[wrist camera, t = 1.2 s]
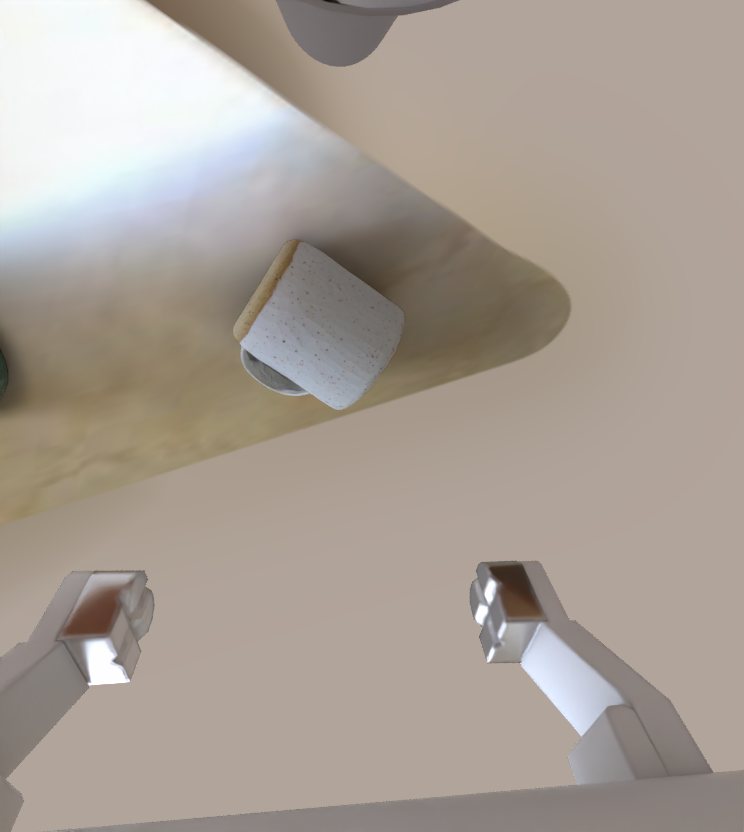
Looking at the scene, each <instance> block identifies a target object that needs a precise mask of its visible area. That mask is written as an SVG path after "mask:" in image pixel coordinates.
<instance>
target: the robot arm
mask: <svg viewBox="0 0 744 832" xmlns="http://www.w3.org/2000/svg"><path fill="white" fill-rule="evenodd" d="M476 573H477V575H478V578H477V579H476V580H474V581H473V582H472V584H471V588H470V605H471V610H472V614H473V617H474V620H475V621H476V622H477V623H478V624H479V625H480V626H481V627H482V630H481V633H480V636H479V638H480V641H481V644H482V647H483V650H484V654H485V657H486V660H487V663H521V664H520V665H521V666H522V667H523V668H524V670H525V671H526V672H527V673H528V674H529V675H530V677H531V678H532V679H533V680H534V681H535V682H536V684H538V686H539V687H540V688H541V690H542V691H543V692H544V693H545V694H546V695H547V697H548V698H549V699H550V700H551V701H552V702H553V704H554V705H555V706H556V707H557V708H558V709H559V711H560V712H561V713H562V714H563V715H564V716H565V718H566V719H567V720H568V721H569V722H570V723H571V725H572V726H573V727H574V728H575V729H576V730H577V732H578V733H579V734H580V735H581V736H582V737H581V738H580V739H579V741H578V742H577V743H576V744H575V745H574V747H573V748H572V749H571V750H570V752H569V754H568V757H567V758H568V761H569V764H570V767H571V769H572V772H573V775H574V777H575V780H576V783H577V785H568V786H557V787H546V788H535V789H523V790H511V791H500V792H489V793H477V794H467V795H455V796H444V797H432V798H421V799H410V800H398V801H386V802H375V803H365V804H353V805H341V806H330V807H318V808H307V809H296V810H284V811H273V812H261V813H250V814H240V815H228V816H217V817H205V818H193V819H182V820H171V821H160V822H148V823H136V824H125V825H114V826H103V827H91V828H79V829H68V830H57V831H46V832H744V770H740V771H728V772H716V773H713V771H712V769H711V768H710V766H709V764H708V763H707V761H706V759H705V758H704V756H703V754H702V753H701V751H700V750H699V748H698V746H697V744H696V743H695V741H694V739H693V738H692V736H691V734H690V733H689V731H688V729H687V728H686V726H685V724H684V723H683V721H682V719H681V718H680V716H679V714H678V713H677V711H676V709H675V708H674V706H673V704H672V703H671V701H670V700H669V699H668V698H667V697H666V696H664V695H663V694H662V693H661V692H660V691H658V690H657V689H656V688H655V687H654V686H653V685H651V684H650V683H649V682H648V681H647V680H645V679H644V678H643V677H642V676H641V675H639V674H638V673H637V672H636V671H635V670H634V669H632V668H631V667H630V666H629V665H628V664H626V663H625V662H624V661H623V660H622V659H620V658H619V657H618V656H617V655H616V654H614V653H613V652H612V651H611V650H610V649H608V648H607V647H606V646H605V645H604V644H603V643H601V642H600V641H599V640H598V639H597V638H596V637H594V636H593V635H592V634H591V633H590V632H588V631H587V630H586V629H585V628H584V627H582V626H581V625H580V624H578V622H576V621H570V620H569V618H568V616H567V614H566V612H565V610H564V608H563V606H562V604H561V602H560V600H559V598H558V597H557V594H556V592H555V590H554V588H553V586H552V584H551V582H550V580H549V578H548V576H547V574H546V572H545V570H544V568H543V566H542V564H540V563H539V562H538V561H498V562H481V563H480V564H478V567H477V569H476ZM147 580H148V579H147V576H146V574H145V571H72V572H71V573H70V574H69V575H68V576H67V577H66V578H65V579H64V580H63V582H62V584H61V585H60V587H59V589H58V590H57V592H56V594H55V595H54V597H53V599H52V601H51V602H50V604H49V606H48V607H47V609H46V611H45V612H44V614H43V616H42V618H41V619H40V621H39V623H38V624H37V626H36V628H35V630H34V631H33V633H32V635H31V636H30V638H29V640H28V641H27V642H23V643H19V644H17V645H16V646H15V647H13V648H12V649H11V650H10V651H8V652H7V653H6V654H4V655H3V656H2V657H0V832H11V830H12V827H13V825H14V823H15V820H16V818H17V816H18V814H19V811H20V809H21V807H22V804H23V802H24V800H23V797H22V795H21V793H20V792H19V791H18V790H17V789H16V788H14V787H13V786H12V785H11V784H10V783H9V782H8V781H7V780H6V778H7V777H8V776H9V775H10V774H11V773H12V772H13V770H14V769H15V768H16V767H17V766H18V765H19V764H20V763H21V762H22V761H23V759H24V758H25V757H26V756H27V755H28V754H29V753H30V752H31V751H32V750H33V749H34V748H35V746H36V745H37V744H38V743H39V742H40V741H41V740H42V739H43V737H45V735H46V734H47V733H48V732H49V731H50V730H51V729H52V728H53V727H54V725H56V723H57V722H58V721H59V720H60V719H61V718H62V717H63V716H64V714H66V712H67V711H68V710H69V709H70V708H71V707H72V706H73V705H74V704H75V703H76V702H77V700H78V699H79V698H80V697H81V696H82V695H83V694H84V693H85V692H86V691H87V689H88V688H89V685H94V684H107V683H120V682H130V681H131V678H132V675H133V673H134V670H135V667H136V664H137V661H138V659H139V656H140V653H141V649H140V647H139V644H138V641H139V640H140V639H141V638H142V637H143V636H144V635H145V634H146V633H147V632H148V631H149V628H150V625H151V622H152V618H153V612H154V597H153V593H152V591H151V590H150V589H148V588H147V587H145V585H146V582H147Z"/></svg>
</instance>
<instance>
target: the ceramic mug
mask: <svg viewBox="0 0 744 832" xmlns="http://www.w3.org/2000/svg"><path fill="white" fill-rule="evenodd" d="M404 318H405V317H404V313H403V311H402V310H401V309H400V308H399V307H398V306H397V305H395V304H394V303H392V302H391V301H389V300H388V299H387V298H385V297H384V296H382V295H381V294H380V293H378V292H377V291H375V290H374V289H373V288H371V287H370V286H369V285H367V284H366V283H364V282H363V281H362V280H360V279H359V278H357V277H356V276H355V275H353V274H352V273H350V272H349V271H347V270H346V269H345V268H343V267H342V266H341V265H339V264H338V263H336V262H335V261H334V260H333V259H331V258H330V257H329V256H327V255H326V254H324V253H323V252H321V251H320V250H318V249H316V248H315V247H313V246H311V245H309V244H307V243H305V242H303V241H299V240H291V241H287V242H286V243H285V244H284V246H283V247H282V249H281V251H280V252H279V254H278V255H277V257H276V258H275V260H274V262H273V263H272V265H271V266H270V268H269V270H268V271H267V273H266V274H265V276H264V278H263V279H262V281H261V283H260V284H259V286H258V287H257V289H256V290H255V292H254V294H253V296H252V297H251V299H250V300H249V302H248V303H247V305H246V307H245V309H244V310H243V312H242V313H241V315H240V317H239V318H238V320H237V321H236V323H235V325H234V327H233V332H234V337H235V339H236V340H237V341H238V342H239V343H240V345H241V346H242V347H241V356H240V357H241V361H242V363H243V365H244V367H245V369H246V370H247V372H248V373H249V374H250V375H251V376H252V377H253V378H254V379H256V380H257V381H258V382H259V383H261V384H262V385H264V386H265V387H267V388H269V389H271V390H273V391H275V392H278V393H281V394H284V395H290V396H302V395H307V394H312V395H314V396H315V397H317V398H318V399H320V400H321V401H323V402H324V403H326V404H327V405H329V406H330V407H332V408H334V409H336V410H341V409H344V408H347V407H348V406H350V405H352V404H353V403H355V402H356V401H357V400H358V399H360V398H361V397H362V396H363V395H364V394H365V393H366V392H367V391H368V390H369V389H370V388H371V386H372V385H373V384H374V383H375V381H376V380H377V378H378V377H379V376H380V374H381V373H382V372H383V371H384V369H385V368H386V366H387V365H388V363H389V362H390V360H391V359H392V357H393V355H394V353H395V351H396V349H397V346H398V343H399V341H400V339H401V336H402V333H403V329H404ZM271 367H272V368H273V369H272V368H271ZM274 369H275V370H277V371H278V372H280V373H281V374H283V375H284V376H283V375H281V374H280V373H278V372H276V371H275V370H274Z"/></svg>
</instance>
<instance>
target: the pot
mask: <svg viewBox="0 0 744 832" xmlns="http://www.w3.org/2000/svg"><path fill="white" fill-rule="evenodd" d="M7 379H8V375H7V367H6V364H5V360H4V358H3V355H2V353H1V351H0V399H1V398H2V396H3V394H4V392H5V390H6V386H7Z"/></svg>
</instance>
